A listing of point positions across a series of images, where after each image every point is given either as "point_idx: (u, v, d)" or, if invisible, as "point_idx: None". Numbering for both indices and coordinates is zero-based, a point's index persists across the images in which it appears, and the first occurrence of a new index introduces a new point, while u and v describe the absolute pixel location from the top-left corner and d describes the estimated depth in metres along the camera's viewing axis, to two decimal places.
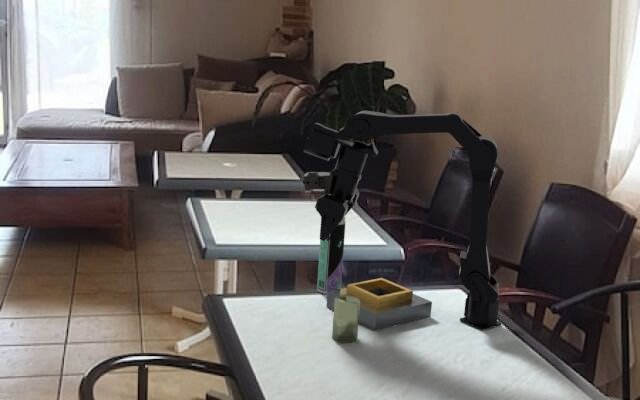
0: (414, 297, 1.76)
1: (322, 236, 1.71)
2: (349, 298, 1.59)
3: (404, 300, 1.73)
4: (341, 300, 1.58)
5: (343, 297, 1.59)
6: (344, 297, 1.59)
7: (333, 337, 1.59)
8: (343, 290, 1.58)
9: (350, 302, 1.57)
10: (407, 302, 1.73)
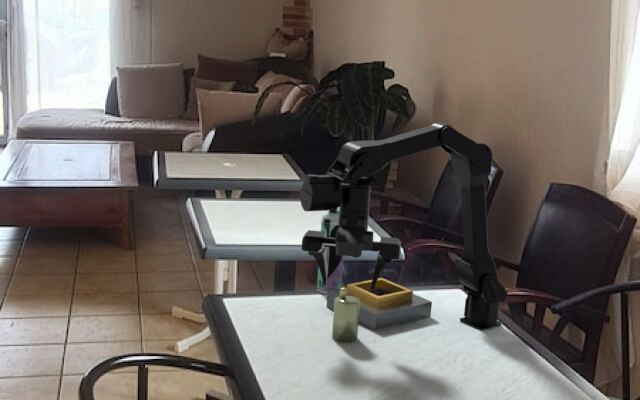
0: (414, 297, 1.76)
1: (374, 285, 1.57)
2: (349, 298, 1.59)
3: (404, 300, 1.73)
4: (341, 300, 1.58)
5: (343, 297, 1.59)
6: (344, 297, 1.59)
7: (333, 337, 1.59)
8: (343, 290, 1.58)
9: (350, 302, 1.57)
10: (407, 302, 1.73)
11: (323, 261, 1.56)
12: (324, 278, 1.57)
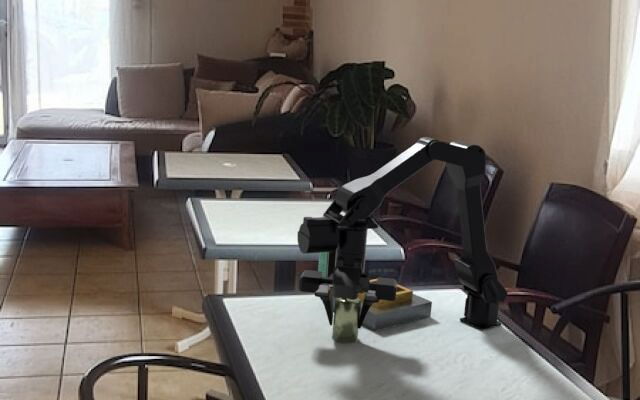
0: (414, 297, 1.76)
1: None
2: None
3: (404, 300, 1.73)
4: (342, 300, 1.58)
5: None
6: None
7: (333, 337, 1.59)
8: None
9: (351, 302, 1.57)
10: (407, 302, 1.73)
11: (329, 302, 1.57)
12: (330, 319, 1.59)
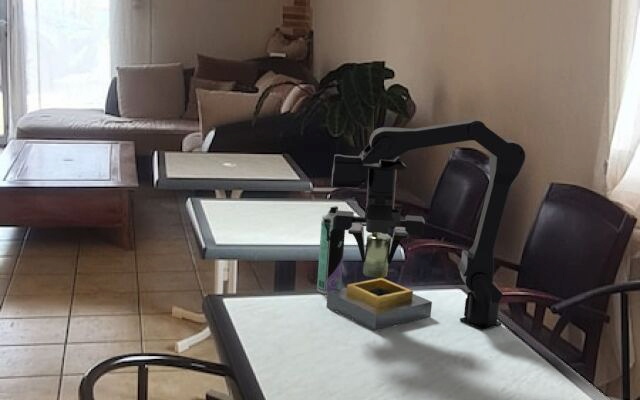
0: (414, 297, 1.76)
1: (391, 259, 1.69)
2: (380, 236, 1.69)
3: (404, 300, 1.73)
4: (373, 237, 1.68)
5: (375, 235, 1.69)
6: (376, 235, 1.69)
7: (364, 272, 1.69)
8: None
9: (382, 239, 1.67)
10: (407, 302, 1.73)
11: (362, 239, 1.67)
12: (362, 255, 1.69)
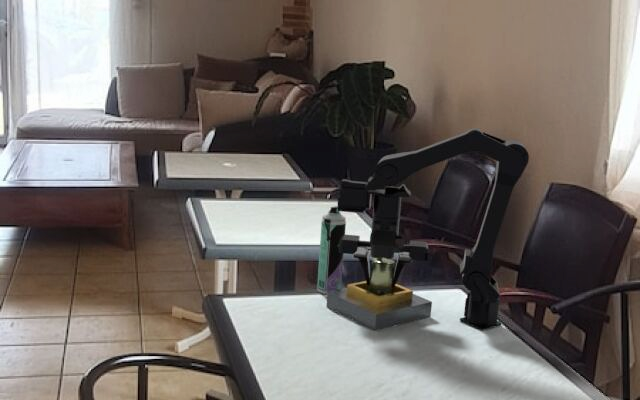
0: (414, 297, 1.76)
1: (395, 283, 1.74)
2: (385, 260, 1.74)
3: (404, 300, 1.73)
4: (378, 261, 1.73)
5: (380, 259, 1.74)
6: (380, 259, 1.74)
7: None
8: None
9: (387, 263, 1.72)
10: (407, 302, 1.73)
11: (367, 263, 1.72)
12: (367, 278, 1.74)
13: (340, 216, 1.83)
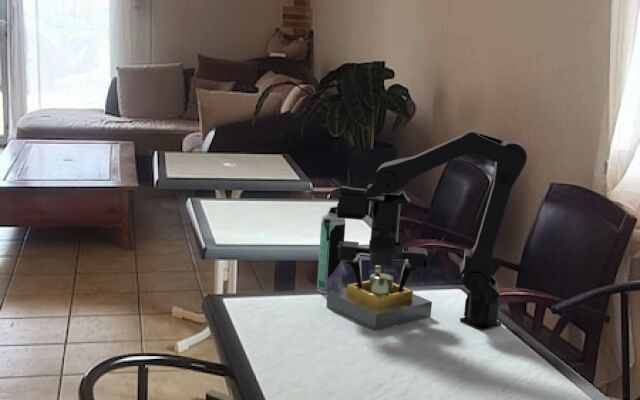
0: (414, 297, 1.76)
1: (401, 290, 1.74)
2: (383, 275, 1.75)
3: (404, 300, 1.73)
4: (376, 277, 1.74)
5: (377, 274, 1.75)
6: (378, 274, 1.75)
7: None
8: (377, 268, 1.74)
9: (384, 279, 1.73)
10: (407, 302, 1.73)
11: (359, 269, 1.73)
12: (359, 284, 1.74)
13: None
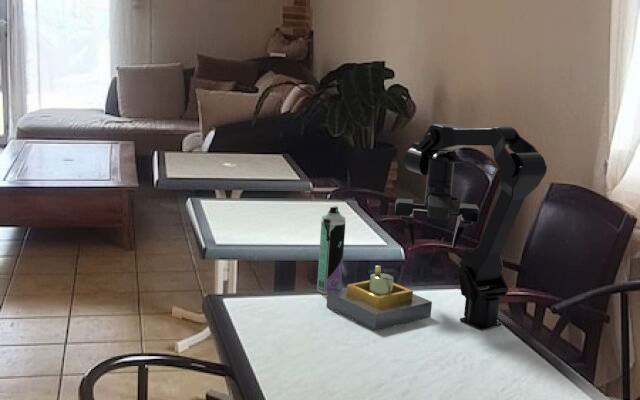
0: (414, 297, 1.76)
1: (455, 244, 1.84)
2: (383, 275, 1.75)
3: (404, 300, 1.73)
4: (376, 277, 1.74)
5: (378, 274, 1.75)
6: (378, 274, 1.75)
7: None
8: (378, 268, 1.74)
9: (385, 279, 1.73)
10: (407, 302, 1.73)
11: (413, 224, 1.83)
12: (413, 239, 1.84)
13: (340, 216, 1.82)
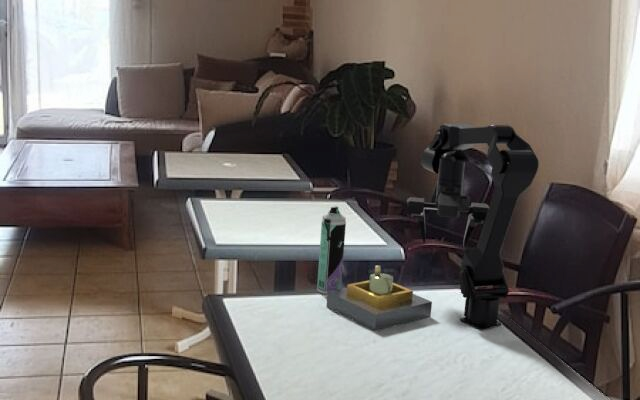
0: (414, 297, 1.76)
1: (466, 243, 1.87)
2: (383, 275, 1.75)
3: (404, 300, 1.73)
4: (376, 277, 1.74)
5: (377, 274, 1.75)
6: (378, 274, 1.75)
7: None
8: (377, 268, 1.74)
9: (384, 279, 1.73)
10: (407, 302, 1.73)
11: (423, 222, 1.86)
12: (423, 237, 1.87)
13: (340, 216, 1.83)
